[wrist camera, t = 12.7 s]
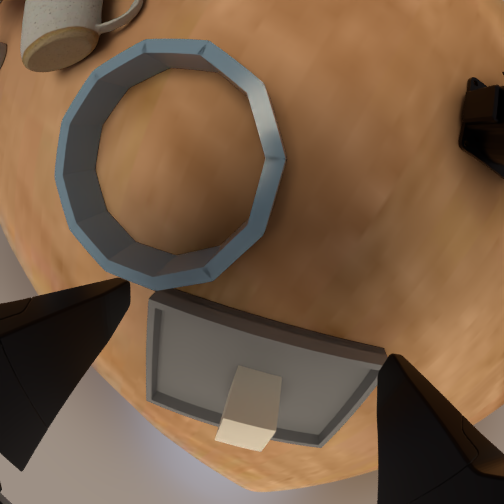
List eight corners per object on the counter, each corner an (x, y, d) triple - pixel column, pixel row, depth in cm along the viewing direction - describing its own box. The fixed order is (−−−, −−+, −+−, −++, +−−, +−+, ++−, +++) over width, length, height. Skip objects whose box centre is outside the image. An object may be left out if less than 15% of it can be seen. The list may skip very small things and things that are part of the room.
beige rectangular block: (281, 377, 22) (276, 431, 17) (268, 401, 24) (260, 451, 18) (238, 365, 23) (223, 417, 17) (229, 391, 24) (214, 440, 18)
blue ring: (309, 78, 15) (314, 59, 11) (248, 290, 21) (238, 319, 17) (111, 56, 16) (81, 45, 12) (82, 233, 22) (53, 247, 18)
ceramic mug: (58, 81, 17) (-1, 74, 10) (60, 22, 14) (11, 6, 7) (151, 29, 15) (97, -8, 8) (147, -29, 12) (105, -66, 5)
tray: (384, 348, 21) (390, 366, 19) (320, 431, 26) (321, 447, 24) (162, 284, 22) (148, 298, 20) (154, 385, 27) (146, 400, 25)
